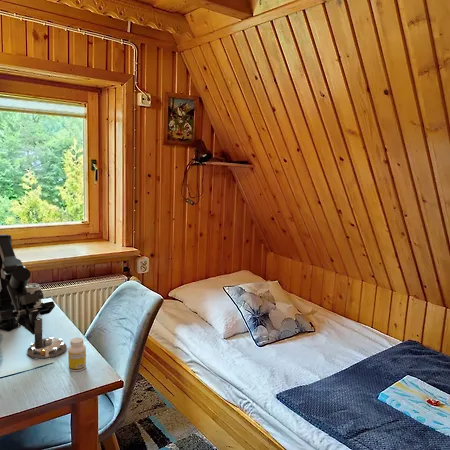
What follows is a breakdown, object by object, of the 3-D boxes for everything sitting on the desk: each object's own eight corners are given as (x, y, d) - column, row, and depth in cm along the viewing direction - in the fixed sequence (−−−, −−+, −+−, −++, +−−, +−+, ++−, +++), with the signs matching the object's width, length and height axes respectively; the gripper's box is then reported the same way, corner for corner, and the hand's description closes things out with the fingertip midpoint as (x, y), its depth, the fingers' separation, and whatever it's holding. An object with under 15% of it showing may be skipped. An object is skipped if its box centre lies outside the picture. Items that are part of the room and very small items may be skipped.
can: (44, 312, 185) (43, 285, 183) (26, 316, 180) (26, 288, 178) (37, 307, 190) (36, 281, 188) (19, 311, 185) (18, 284, 183)
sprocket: (26, 355, 144) (26, 323, 142) (34, 341, 154) (33, 311, 152) (61, 354, 146) (60, 322, 144) (65, 340, 157) (65, 310, 155)
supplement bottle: (73, 363, 143) (72, 335, 141) (88, 364, 142) (88, 337, 140) (65, 371, 137) (65, 342, 136) (81, 373, 137) (81, 344, 135)
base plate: (18, 354, 146) (18, 344, 146) (45, 340, 158) (44, 330, 158) (49, 362, 142) (49, 351, 142) (74, 346, 154) (74, 336, 154)
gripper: (-2, 288, 140) (14, 330, 135) (52, 278, 154) (68, 316, 149) (-11, 304, 146) (3, 345, 141) (42, 294, 161) (56, 330, 155)
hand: (34, 333), depth 146 cm, fingers closed, pressing on sprocket
